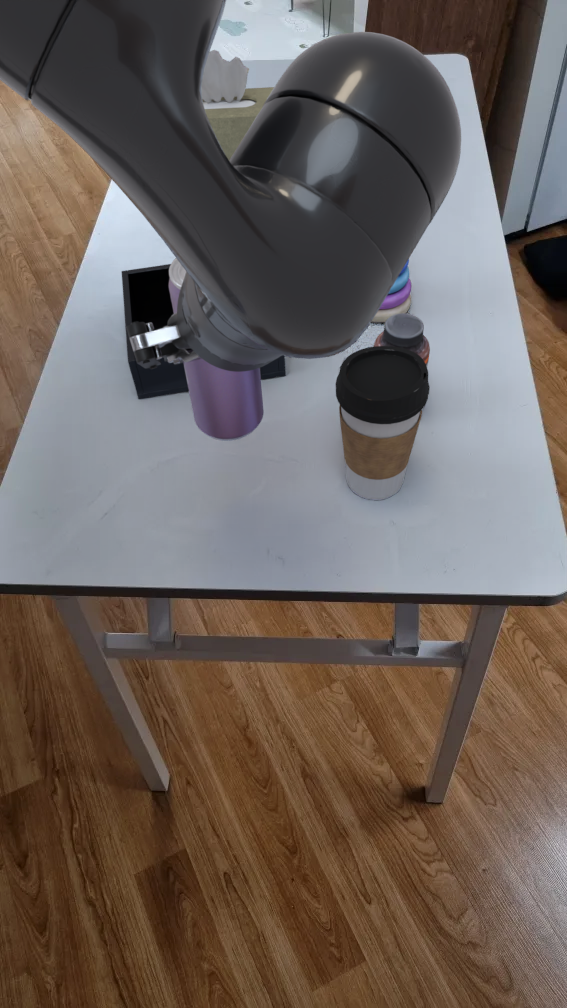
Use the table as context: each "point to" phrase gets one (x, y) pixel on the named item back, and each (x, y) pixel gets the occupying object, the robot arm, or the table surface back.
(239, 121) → the tissue box
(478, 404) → the table surface
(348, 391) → the coffee cup
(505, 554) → the table surface
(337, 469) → the table surface
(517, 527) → the table surface
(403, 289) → the stacking toy
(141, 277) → the black open storage bin
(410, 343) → the supplement bottle
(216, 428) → the beverage can
